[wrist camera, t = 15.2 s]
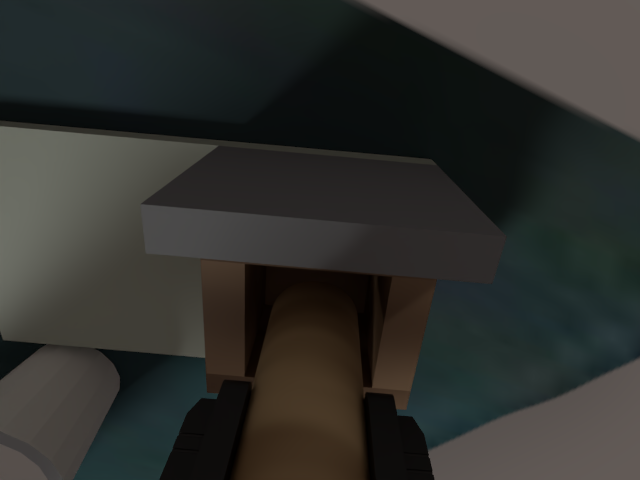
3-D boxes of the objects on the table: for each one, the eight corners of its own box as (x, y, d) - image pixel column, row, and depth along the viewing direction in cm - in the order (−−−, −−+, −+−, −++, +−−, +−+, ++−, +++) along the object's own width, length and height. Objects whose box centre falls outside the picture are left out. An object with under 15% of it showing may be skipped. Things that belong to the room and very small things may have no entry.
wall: (430, 196, 19) (492, 284, 11) (219, 177, 19) (145, 253, 11) (437, 165, 18) (506, 236, 11) (218, 145, 18) (140, 204, 11)
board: (390, 360, 24) (393, 374, 23) (18, 327, 24) (2, 340, 23) (431, 159, 19) (437, 165, 18) (-44, 116, 19) (-67, 120, 18)
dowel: (355, 353, 15) (401, 1092, 4) (272, 350, 15) (119, 1068, 4) (360, 282, 14) (443, 1101, 3) (269, 279, 14) (37, 1065, 3)
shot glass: (140, 355, 25) (73, 457, 18) (118, 425, 28) (53, 534, 21) (29, 316, 24) (-82, 409, 18) (17, 392, 27) (-82, 497, 20)
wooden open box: (387, 320, 21) (406, 409, 16) (239, 307, 21) (207, 392, 16) (410, 196, 18) (442, 254, 13) (239, 181, 18) (198, 232, 13)
